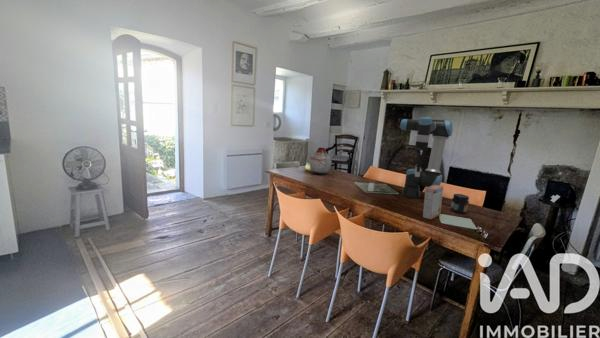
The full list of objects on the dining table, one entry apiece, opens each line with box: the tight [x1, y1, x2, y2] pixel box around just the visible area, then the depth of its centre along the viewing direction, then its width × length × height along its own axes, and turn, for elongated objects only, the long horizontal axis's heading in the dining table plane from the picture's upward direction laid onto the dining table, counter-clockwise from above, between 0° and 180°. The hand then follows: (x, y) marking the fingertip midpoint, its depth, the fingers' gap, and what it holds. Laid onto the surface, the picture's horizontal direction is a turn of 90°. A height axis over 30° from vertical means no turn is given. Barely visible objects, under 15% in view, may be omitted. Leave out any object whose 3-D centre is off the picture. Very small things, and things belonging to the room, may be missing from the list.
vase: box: [309, 147, 332, 176], centre depth 278 cm, size 23×23×28 cm
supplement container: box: [450, 193, 470, 214], centre depth 191 cm, size 10×10×12 cm
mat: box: [438, 213, 478, 230], centre depth 172 cm, size 18×20×1 cm
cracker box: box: [422, 185, 444, 221], centre depth 176 cm, size 14×6×21 cm, turn 129°
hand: (416, 175), depth 176 cm, fingers open, 8 cm apart
